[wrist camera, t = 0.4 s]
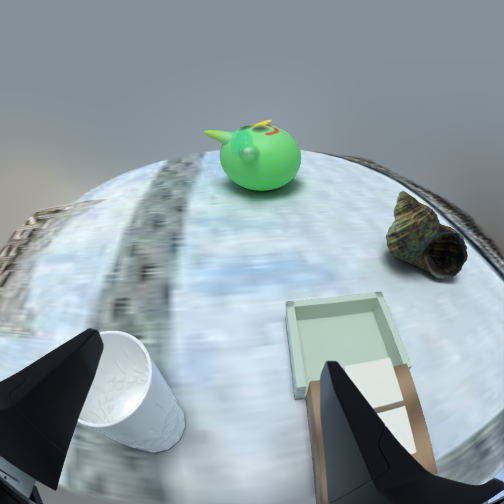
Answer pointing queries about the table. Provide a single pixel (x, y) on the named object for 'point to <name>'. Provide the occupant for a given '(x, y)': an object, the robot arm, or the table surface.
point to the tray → (340, 335)
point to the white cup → (132, 398)
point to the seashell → (425, 239)
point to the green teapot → (258, 156)
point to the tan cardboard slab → (409, 401)
